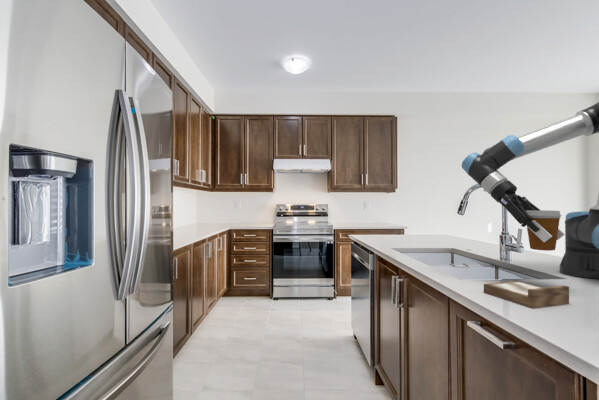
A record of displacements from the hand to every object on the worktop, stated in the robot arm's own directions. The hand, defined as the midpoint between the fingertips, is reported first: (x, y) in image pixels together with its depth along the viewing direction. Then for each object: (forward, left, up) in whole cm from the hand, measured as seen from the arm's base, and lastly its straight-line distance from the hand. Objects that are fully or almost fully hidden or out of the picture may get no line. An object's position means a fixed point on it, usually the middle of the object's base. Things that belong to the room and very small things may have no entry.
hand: (554, 238), depth 100 cm
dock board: (+16, +3, -16) cm, 23 cm away
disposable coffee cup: (+1, -3, -4) cm, 5 cm away
